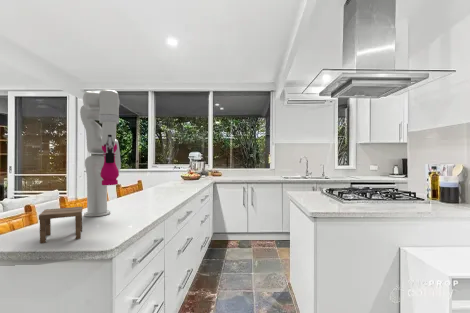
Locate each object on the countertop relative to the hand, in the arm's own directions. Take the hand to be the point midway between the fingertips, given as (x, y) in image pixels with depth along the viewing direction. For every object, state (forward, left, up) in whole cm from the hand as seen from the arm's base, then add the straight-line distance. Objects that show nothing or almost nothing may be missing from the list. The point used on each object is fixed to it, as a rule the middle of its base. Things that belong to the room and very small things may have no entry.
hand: (109, 162), depth 119 cm
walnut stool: (+4, -17, -28) cm, 33 cm away
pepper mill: (0, 0, -10) cm, 10 cm away
